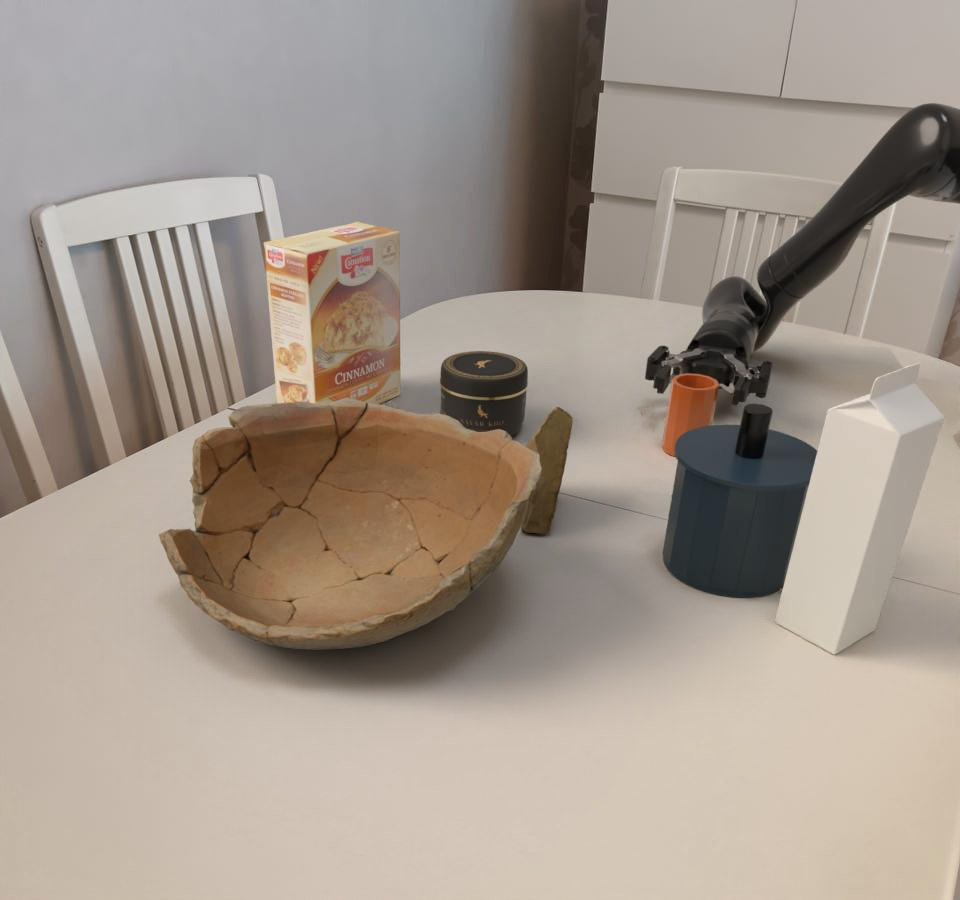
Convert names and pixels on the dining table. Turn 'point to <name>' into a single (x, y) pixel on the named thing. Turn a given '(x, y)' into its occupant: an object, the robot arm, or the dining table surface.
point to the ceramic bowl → (346, 520)
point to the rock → (548, 470)
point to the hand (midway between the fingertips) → (698, 391)
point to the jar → (484, 390)
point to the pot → (730, 536)
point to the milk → (858, 511)
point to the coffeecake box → (335, 314)
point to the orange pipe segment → (688, 406)
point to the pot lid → (747, 454)
